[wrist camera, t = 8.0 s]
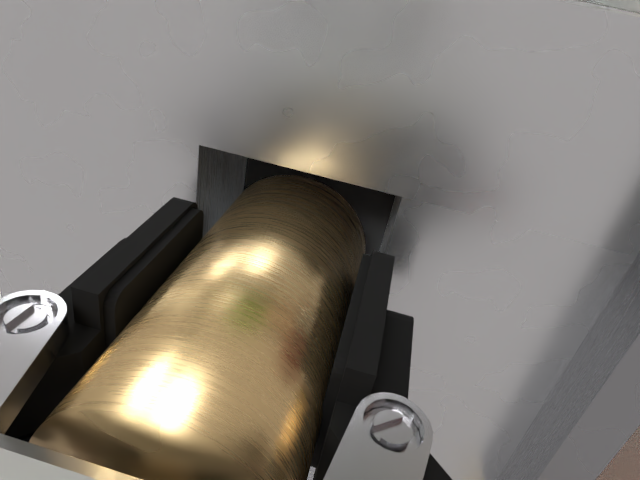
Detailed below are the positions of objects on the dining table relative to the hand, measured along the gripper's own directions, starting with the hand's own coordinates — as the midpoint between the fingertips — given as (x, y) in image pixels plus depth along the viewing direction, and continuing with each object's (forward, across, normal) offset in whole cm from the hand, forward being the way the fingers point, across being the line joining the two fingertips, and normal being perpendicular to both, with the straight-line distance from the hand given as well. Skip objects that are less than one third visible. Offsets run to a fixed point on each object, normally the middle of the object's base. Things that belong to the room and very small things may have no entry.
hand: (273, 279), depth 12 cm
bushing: (+2, 0, 0) cm, 2 cm away
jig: (+5, 0, 0) cm, 5 cm away
